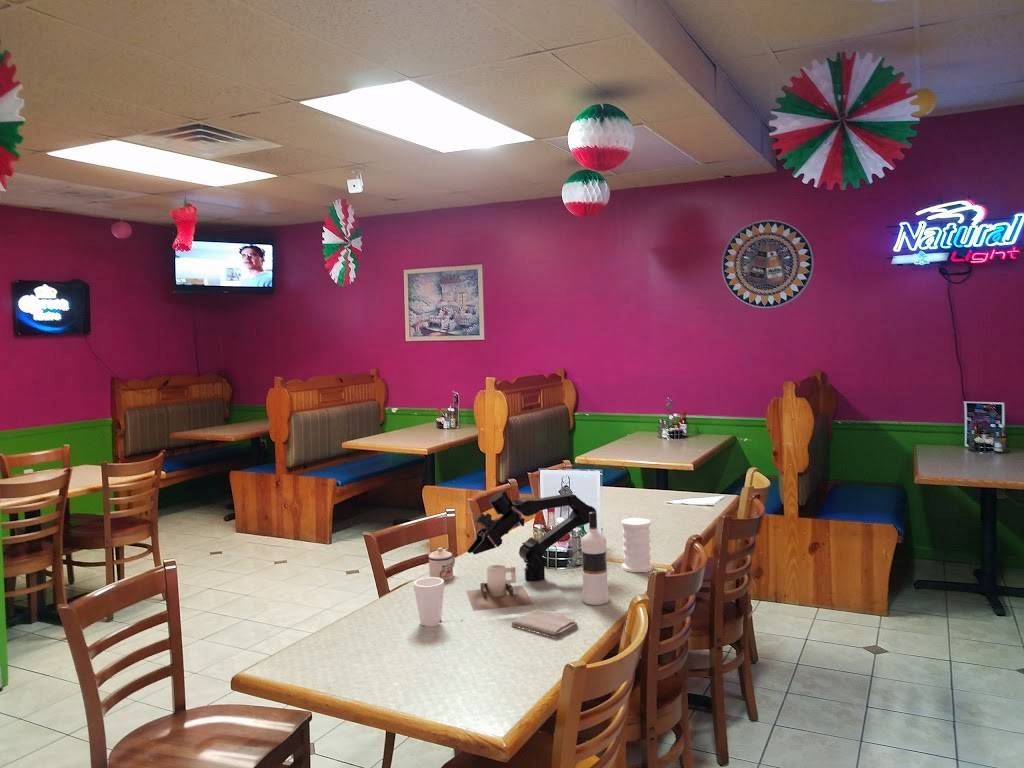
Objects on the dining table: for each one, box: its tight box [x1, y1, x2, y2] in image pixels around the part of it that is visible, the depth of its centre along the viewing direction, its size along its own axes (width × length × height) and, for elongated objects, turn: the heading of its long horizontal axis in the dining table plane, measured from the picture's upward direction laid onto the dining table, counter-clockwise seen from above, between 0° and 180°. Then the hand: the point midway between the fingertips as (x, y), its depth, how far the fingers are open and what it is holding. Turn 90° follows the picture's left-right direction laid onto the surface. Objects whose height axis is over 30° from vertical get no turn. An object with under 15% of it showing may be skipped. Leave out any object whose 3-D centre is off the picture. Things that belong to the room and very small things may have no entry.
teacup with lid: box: [427, 547, 456, 581], centre depth 283 cm, size 12×9×12 cm
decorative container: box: [620, 517, 654, 573], centre depth 286 cm, size 12×12×18 cm
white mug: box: [486, 564, 517, 597], centre depth 261 cm, size 10×6×9 cm, turn 100°
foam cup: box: [413, 576, 445, 627], centre depth 239 cm, size 10×9×13 cm
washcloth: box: [511, 609, 579, 639], centre depth 232 cm, size 12×18×3 cm, turn 51°
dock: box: [466, 582, 534, 611], centre depth 257 cm, size 20×20×4 cm
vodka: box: [580, 511, 611, 606], centre depth 252 cm, size 9×9×30 cm
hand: (470, 552), depth 265 cm, fingers open, 9 cm apart
